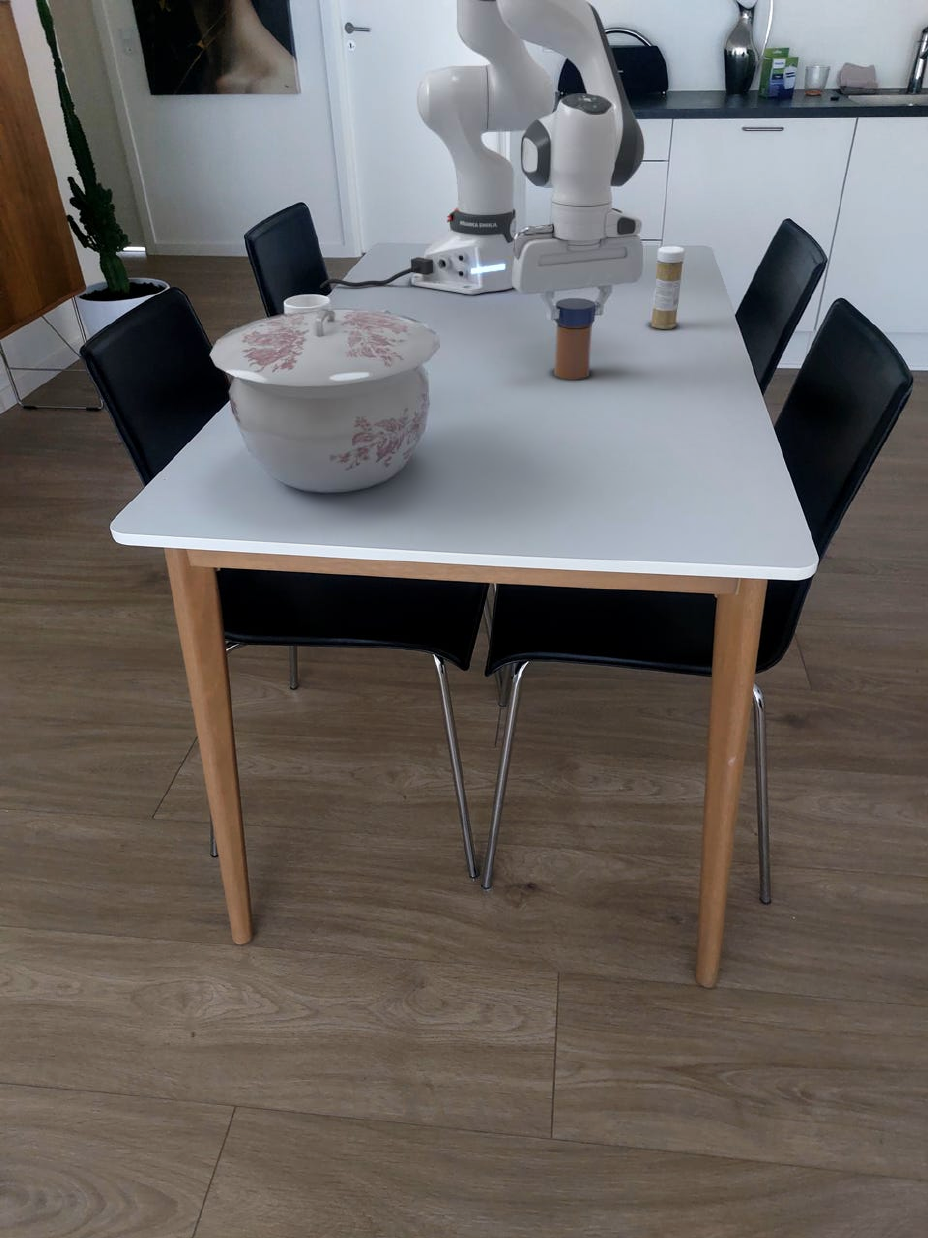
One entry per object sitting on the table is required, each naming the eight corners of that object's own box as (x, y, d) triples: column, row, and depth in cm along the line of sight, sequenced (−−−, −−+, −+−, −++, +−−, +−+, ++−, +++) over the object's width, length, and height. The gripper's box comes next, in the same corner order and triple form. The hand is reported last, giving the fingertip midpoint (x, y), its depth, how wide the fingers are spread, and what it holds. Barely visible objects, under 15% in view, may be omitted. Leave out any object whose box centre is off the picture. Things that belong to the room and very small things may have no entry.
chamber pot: (269, 540, 108) (243, 362, 96) (206, 452, 128) (178, 296, 117) (485, 487, 118) (485, 321, 107) (395, 413, 139) (387, 266, 127)
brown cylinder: (550, 377, 150) (553, 311, 144) (559, 366, 155) (562, 301, 149) (584, 381, 149) (588, 314, 143) (592, 370, 153) (597, 304, 147)
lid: (583, 328, 143) (584, 311, 142) (548, 323, 146) (549, 305, 144) (600, 318, 148) (601, 301, 146) (565, 312, 150) (566, 295, 149)
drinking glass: (347, 396, 145) (339, 296, 136) (327, 412, 139) (317, 309, 131) (307, 391, 146) (296, 292, 138) (286, 407, 141) (274, 305, 133)
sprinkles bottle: (661, 320, 174) (670, 243, 166) (681, 326, 171) (690, 248, 163) (645, 325, 172) (652, 247, 164) (664, 331, 169) (673, 252, 161)
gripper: (522, 232, 134) (519, 330, 141) (652, 220, 139) (643, 315, 147) (506, 223, 138) (504, 318, 146) (632, 212, 144) (624, 304, 152)
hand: (575, 316), depth 146 cm, fingers closed on lid, 6 cm apart
